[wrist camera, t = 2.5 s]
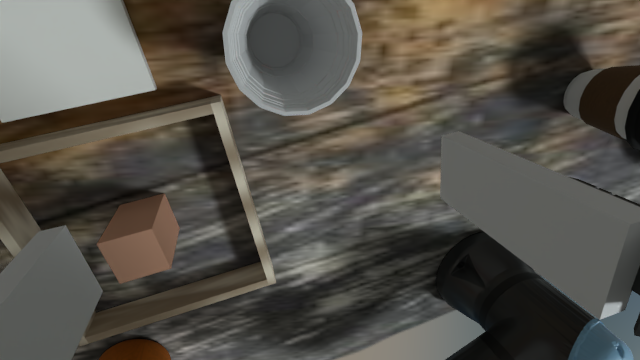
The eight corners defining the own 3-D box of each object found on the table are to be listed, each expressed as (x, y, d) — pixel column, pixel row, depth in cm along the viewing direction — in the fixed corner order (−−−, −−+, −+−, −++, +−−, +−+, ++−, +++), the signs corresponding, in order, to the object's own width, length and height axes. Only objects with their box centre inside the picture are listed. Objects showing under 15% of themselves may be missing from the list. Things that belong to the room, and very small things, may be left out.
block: (179, 228, 41) (170, 268, 34) (137, 240, 40) (119, 283, 33) (164, 193, 39) (151, 228, 32) (119, 205, 38) (96, 244, 31)
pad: (157, 88, 35) (155, 89, 34) (8, 120, 32) (2, 122, 31) (114, -23, 30) (111, -24, 29) (-62, 5, 28) (-71, 4, 27)
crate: (272, 263, 47) (276, 282, 43) (91, 320, 43) (79, 346, 40) (220, 94, 36) (220, 101, 33) (-25, 149, 33) (-56, 164, 29)
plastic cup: (217, 86, 36) (216, 108, 25) (227, -28, 32) (229, -57, 22) (313, 101, 39) (347, 126, 29) (332, -1, 36) (378, -14, 25)
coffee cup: (579, 41, 46) (687, 43, 35) (623, 70, 50) (732, 80, 39) (536, 116, 49) (622, 139, 38) (581, 137, 53) (670, 164, 42)
